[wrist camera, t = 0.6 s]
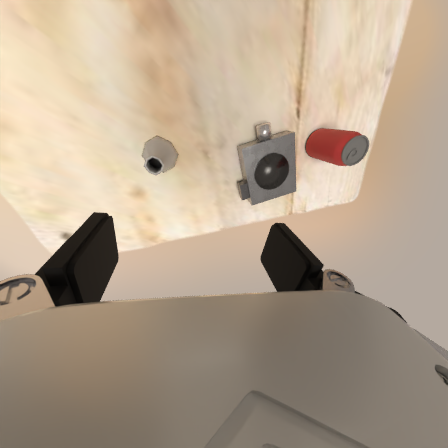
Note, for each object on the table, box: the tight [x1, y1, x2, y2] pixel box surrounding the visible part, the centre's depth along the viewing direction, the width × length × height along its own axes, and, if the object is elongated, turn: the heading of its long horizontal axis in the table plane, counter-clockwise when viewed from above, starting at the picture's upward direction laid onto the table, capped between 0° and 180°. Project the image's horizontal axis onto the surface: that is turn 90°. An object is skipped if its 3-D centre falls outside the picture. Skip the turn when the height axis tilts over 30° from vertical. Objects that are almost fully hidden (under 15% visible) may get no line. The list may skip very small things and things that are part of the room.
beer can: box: [306, 128, 369, 166], centre depth 39 cm, size 7×7×12 cm
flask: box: [142, 136, 178, 175], centre depth 35 cm, size 7×7×10 cm
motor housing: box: [237, 122, 296, 205], centre depth 42 cm, size 17×14×4 cm
